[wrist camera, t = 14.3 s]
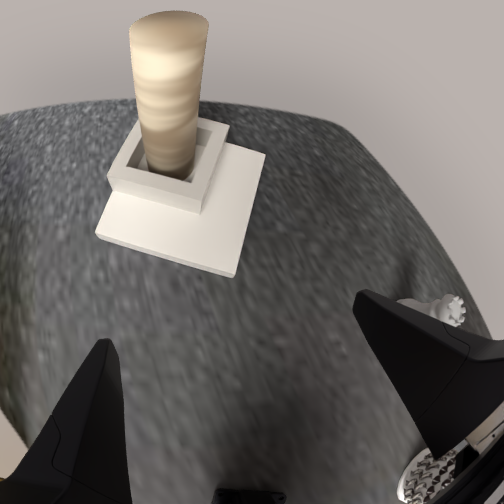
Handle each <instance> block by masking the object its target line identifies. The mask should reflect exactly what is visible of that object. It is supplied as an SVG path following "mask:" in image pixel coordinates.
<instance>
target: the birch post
mask: <svg viewBox="0 0 504 504" xmlns="http://www.w3.org/2000/svg"><path fill="white" fill-rule="evenodd" d="M208 26H209V24H208V21H207V20H206V19H205V18H204V17H203V16H201V15H199V14H196V13H192V12H187V11H164V12H158V13H154V14H150V15H148V16H145V17H143V18H141V19H139V20H137V21H136V22H135V23H133V24H132V26H131V27H130V29H129V36H130V49H131V60H132V69H133V77H134V86H135V94H136V101H137V108H138V115H139V121H140V128H141V134H142V139H143V145H144V150H145V156H146V161H147V166H148V171H149V172H151V173H155V174H158V175H162V176H166V177H170V178H174V179H177V180H181V181H183V180H185V179H186V178H187V177H188V176H189V175H190V174H191V173H192V171H193V169H194V162H195V146H196V133H197V120H198V109H199V98H200V89H201V79H202V71H203V62H204V54H205V47H206V39H207V33H208Z"/></svg>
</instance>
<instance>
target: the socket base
mask: <svg viewBox="0 0 504 504" xmlns="http://www.w3.org/2000/svg"><path fill="white" fill-rule="evenodd" d="M229 126H230V125H226V124H223V123H219V122H216V121H212V120H208V119H204V118H200V117H198V120H197V133H196V146H195V162H194V169H193V171H192V173H191V174H190V175H189V176H188V177H187V178H186V179H185V180H183V181H181V180H177V179H174V178H170V177H166V176H162V175H158V174H155V173H151V172H149V171H148V166H147V161H146V156H145V150H144V145H143V139H142V134H141V128H140V121H139V119H138V121H137V122H136V124H135V126H134V127H133V129H132V131H131V132H130V134H129V136H128V137H127V139H126V141H125V143H124V144H123V146H122V148H121V150H120V151H119V153H118V155H117V157H116V159H115V161H114V162H113V164H112V166H111V168H110V170H109V172H108V174H107V177H108V180H109V182H110V185H111V187H112V189H113V192H112V194H111V196H110V198H109V200H108V203H107V205H106V207H105V209H104V212H103V214H102V217H101V219H100V221H99V224H98V226H97V229H96V231H95V233H96V235H97V236H98V237H99V238H100V239H102V240H106V241H109V242H112V243H115V244H118V245H121V246H125V247H128V248H131V249H134V250H137V251H141V252H144V253H147V254H151V255H154V256H157V257H161V258H164V259H167V260H171V261H174V262H177V263H181V264H184V265H188V266H191V267H194V268H198V269H201V270H205V271H208V272H212V273H215V274H219V275H223V276H226V277H230V278H233V276H234V275H235V273H236V269H237V265H238V261H239V257H240V253H241V249H242V245H243V241H244V237H245V233H246V229H247V225H248V221H249V217H250V213H251V210H252V206H253V202H254V198H255V194H256V190H257V186H258V182H259V178H260V175H261V171H262V167H263V163H264V159H265V155H266V154H263V153H260V152H256V151H253V150H250V149H247V148H244V147H240V146H237V145H233V144H230V143H227V142H226V139H227V135H228V131H229Z"/></svg>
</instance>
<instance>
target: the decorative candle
mask: <svg viewBox="0 0 504 504" xmlns="http://www.w3.org/2000/svg"><path fill="white" fill-rule="evenodd" d="M457 453H459V452H458V451H457V450H454V449H453V450H450V451H449V452H448V453H446V454H445V455H444V456H442V457H441V458H440V459H438V460H437V461H435V459H434V458H433V456H432V454H431V452H430V450H429V448H426V449H424V450H422V451H421V452H420V453H419V454H418V455H417V456H416V457H415V458H413V459H412V461H411V462H410V464H409V465H408V466H407V468H406V469H405V470H404V472H403V474H402V476H401V478H400V480H399V483H398V488H397V495H398V499H400V500H401V501H403V502H405V503H407V504H425V503H426V502H428V501H429V500H430V499H432V498H433V497H434V496H435V495H437V494H438V493H439V492H440V491H441V490H443V489H444V488H445V487H446V486H447V485H449V484H450V483H451V482H452V481H453V480H454V479H453V475H454V469H455V462H456V454H457ZM501 504H504V501H503V502H502V503H501Z"/></svg>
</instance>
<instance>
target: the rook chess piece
mask: <svg viewBox="0 0 504 504" xmlns="http://www.w3.org/2000/svg"><path fill="white" fill-rule="evenodd" d="M396 302H398V303H401V304H403V305H406V306H408V307H410V308H413V309H415V310H417V311H420V312H422V313H424V314H427V315H429V316H431V317H434V318H436V319H438V320H440V321H441V322H442V321H443V322H445V323H447V324H450V325H452V326H455V327H457V325H461V324H460V323H461V322H463V321H464V319H465V317H464V316H462V313H466V307H463V308H462V307H461V304H463V303H464V301H463V299H462V298H460V299H459V296H454V295H452V294H446V295H445V296H444V297H443V298H442V300H440V299H435V300H434V301H433V302H431V303H420V302H419V301H416V300H414V299H399V300H398V301H396Z"/></svg>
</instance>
